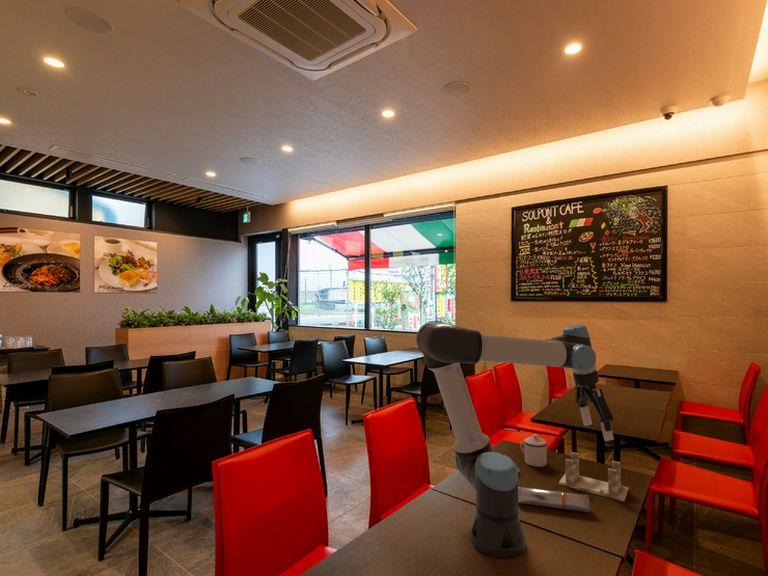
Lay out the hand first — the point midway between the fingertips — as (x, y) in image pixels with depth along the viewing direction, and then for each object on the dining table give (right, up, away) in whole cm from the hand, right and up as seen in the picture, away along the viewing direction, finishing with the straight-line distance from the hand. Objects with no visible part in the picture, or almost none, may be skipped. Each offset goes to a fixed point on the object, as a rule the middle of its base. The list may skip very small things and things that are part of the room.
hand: (598, 432), depth 137 cm
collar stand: (+4, -24, +12) cm, 27 cm away
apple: (-22, -25, +27) cm, 43 cm away
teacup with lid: (-9, -25, +35) cm, 44 cm away
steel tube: (-16, -24, -2) cm, 29 cm away
